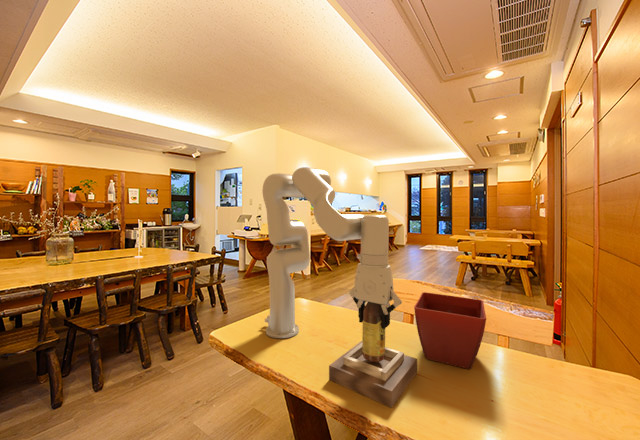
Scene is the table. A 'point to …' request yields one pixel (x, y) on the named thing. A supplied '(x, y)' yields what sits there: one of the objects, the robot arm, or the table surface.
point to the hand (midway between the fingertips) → (373, 323)
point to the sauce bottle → (373, 333)
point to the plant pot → (450, 328)
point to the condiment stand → (374, 374)
